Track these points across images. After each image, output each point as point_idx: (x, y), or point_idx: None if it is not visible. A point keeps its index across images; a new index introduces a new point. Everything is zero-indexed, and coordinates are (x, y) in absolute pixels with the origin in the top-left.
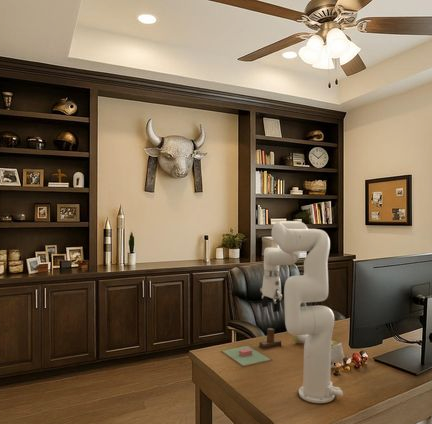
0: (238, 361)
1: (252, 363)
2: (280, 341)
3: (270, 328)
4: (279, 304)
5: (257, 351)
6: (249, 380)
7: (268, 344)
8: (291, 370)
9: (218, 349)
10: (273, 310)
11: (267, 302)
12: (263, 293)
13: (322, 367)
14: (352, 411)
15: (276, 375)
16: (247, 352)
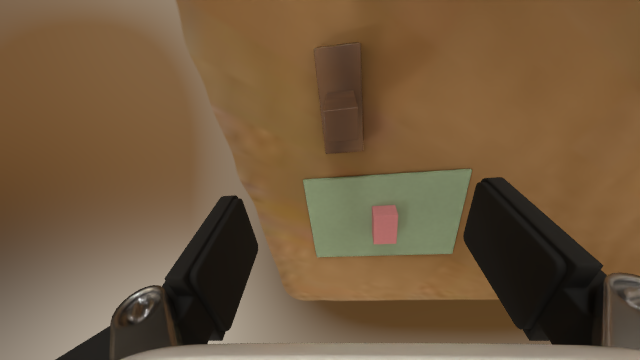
0: (417, 252)
1: (457, 230)
2: (360, 49)
3: (331, 122)
4: (569, 242)
5: (374, 176)
6: None
7: (362, 126)
8: (600, 149)
9: (297, 255)
10: (475, 250)
11: (225, 238)
12: None
13: None
14: None
15: (578, 208)
16: (396, 227)
